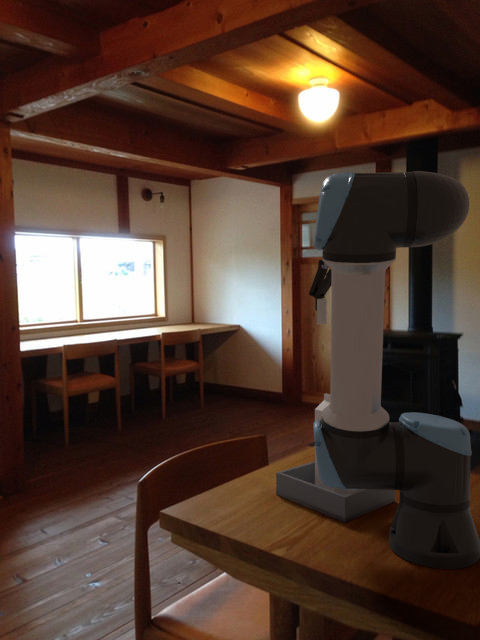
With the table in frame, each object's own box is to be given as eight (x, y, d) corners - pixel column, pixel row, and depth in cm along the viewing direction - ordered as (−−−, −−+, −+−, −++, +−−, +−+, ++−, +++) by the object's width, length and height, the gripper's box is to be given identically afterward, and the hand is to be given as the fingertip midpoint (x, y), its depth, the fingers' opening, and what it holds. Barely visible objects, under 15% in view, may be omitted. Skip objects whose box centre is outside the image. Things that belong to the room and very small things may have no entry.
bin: (394, 501, 119) (395, 478, 119) (344, 522, 108) (344, 497, 108) (326, 478, 134) (326, 457, 134) (276, 494, 123) (276, 472, 123)
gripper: (395, 236, 128) (394, 327, 129) (315, 242, 147) (315, 322, 148) (375, 235, 123) (374, 329, 125) (295, 241, 142) (295, 323, 144)
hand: (342, 325), depth 136 cm, fingers open, 13 cm apart
